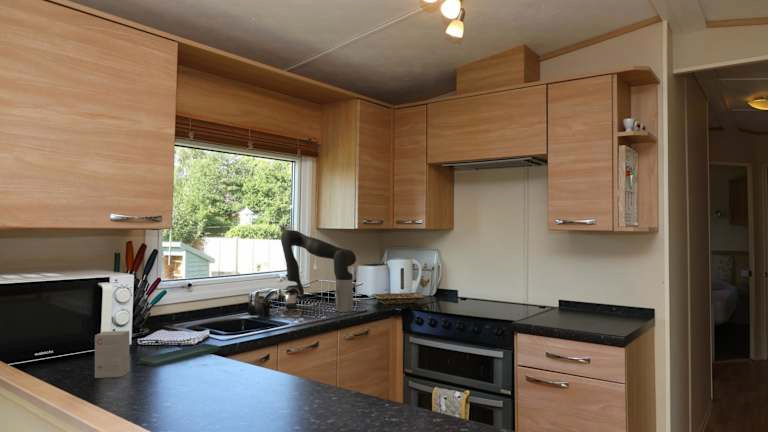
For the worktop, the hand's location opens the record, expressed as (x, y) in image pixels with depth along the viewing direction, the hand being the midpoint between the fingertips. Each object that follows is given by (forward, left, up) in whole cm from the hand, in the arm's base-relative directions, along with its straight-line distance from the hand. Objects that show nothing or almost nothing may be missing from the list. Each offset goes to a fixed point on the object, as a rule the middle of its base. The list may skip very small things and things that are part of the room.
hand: (291, 298), depth 271 cm
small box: (+48, +105, -9) cm, 115 cm away
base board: (0, +1, -9) cm, 9 cm away
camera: (+17, +2, -9) cm, 19 cm away
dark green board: (+33, +84, -9) cm, 91 cm away
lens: (0, 0, -8) cm, 8 cm away
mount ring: (0, +1, -9) cm, 9 cm away
